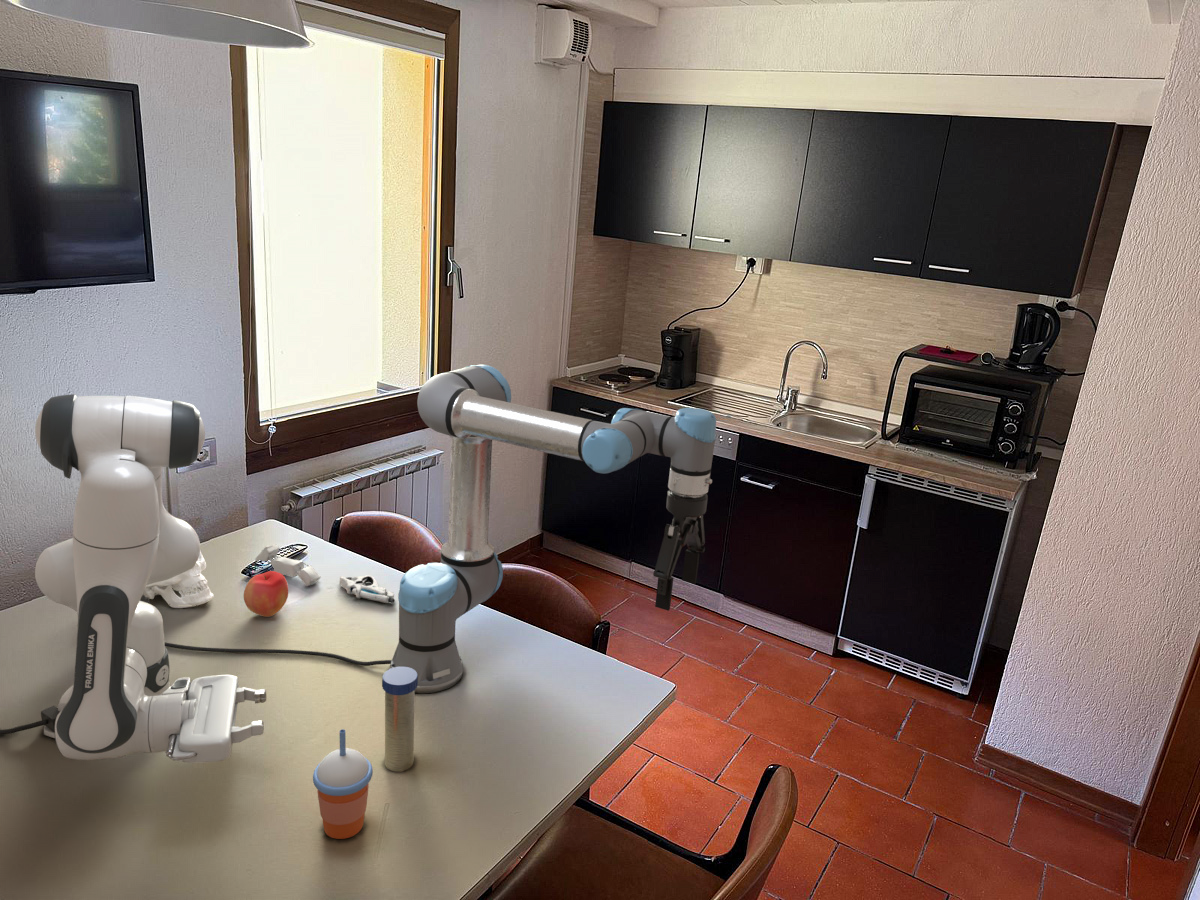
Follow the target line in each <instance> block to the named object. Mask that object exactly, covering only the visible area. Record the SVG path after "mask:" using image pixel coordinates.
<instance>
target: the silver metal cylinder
mask: <svg viewBox="0 0 1200 900" xmlns="http://www.w3.org/2000/svg"><path fill="white" fill-rule="evenodd" d="M384 695H385V696H384V765H385V768H386V769H387V770H389V771H391V772H396V773H398V772H399V773H400V772H404V771H407V770H409V769H410V768H412V767H413V765H414V761H415V760H414V758H415V755H414V754H415V700H416V699H415V697H416V696H415V695H416V692H415V690H414V691H413V692H411V693H409V694H405V695H392V694H389V693H387V692H385V691H384Z"/></svg>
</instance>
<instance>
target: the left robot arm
mask: <svg viewBox="0 0 1200 900" xmlns="http://www.w3.org/2000/svg"><path fill="white" fill-rule="evenodd" d="M34 430H35V431H34V432H35V433H34V434H35V439H36V443H37V445H38V447H39V449H40V453H41V455H42V457H43V458H44V459H45V460H46V461H47V462H48V463H49V464H50V465H51V466H52V467H54V468H56V469H58V470H60V471H62V472H63V476H64V478H66V479H69V480H70V479H71V476H72V471H73V469H75V470H76V471H78V472H79V473H80V482H79V487H78V492H77V496H76V501H75V505H74V506H75V507H74V514H73V523H72V524H73V526H72V538H69V539H66V540H64V541H60V542H58V543H56V544H53V545H51V546H49V547H46V548H45V549H43V551H42V552H41V553H40V555H39V557H38V558H37V560H36V564H35V569H34V577H35V581H36V584H37V587H38V589H39V590H40V591H41V593H42V594H43V595H44V596H45V597H46V598H48V599H49V600H51V601H52V602H54V603H56V604H60V605H63V606H65V607H68V608H70V609H72V610H74V611H75V612H77V633H76V650H75V663H74V679H73V684H72V685H71V686H69V687H68V689H67V690H65V692H64V693H63V694H62V695H61V697H60V699H59V701H58V705H57V706H56V705H51V706H49V707H47V708H44V709H42V710H40V718H41V720H38V721H34V722H30V723H27V724H23V725H19V726H15V727H12V728H5V729H0V736H3V735H10V734H11V735H12V734H15V733H19V732H23V731H27V730H30V729H34V728H38V727H41V726H44V727H43V735H44V736H46V737H50V738H53V739H54V741H55V745H56V747H57V749H58V751H59V752H60V753H61V755H62V756H63V757H65V758H68V759H71V760H79V761H95V760H106V759H115V758H121V757H122V758H123V757H125V756H128V755H131V754H135V753H145V754H146V753H147V754H154V753H163V752H165V756H166V757H167V758H169V759H170V760H172V761H173V762H178V761H179V762H180V761H182V762H184V763H188V764H189V763H192V764H194V763H195V764H197V763H198V764H199V763H215V762H216V763H217V762H222V761H225V760H226V759H229V758H230V757H231V754H232V749H233V748H232V747H233V744H236V743H237V744H238V743H241V742H243V741H245V740H247V739H250V738H252V737H255V736H261V735H263V734H264V731H265V730H264V729H265V728H264V721H263V720H253V721H251V724H250V723H249V724H247V725H245V726H242V727H240V726H238V725H237V726H235V725H236V718H237V712H238V711H237V710H238V704H239V703H245V702H246V701H250V702H254V704H256V705H257V704H263V703H265V702H266V701H267V689H265V688H260V689H255V688H250V687H246V686H242V687H240V681H239V677H238V676H236V675H233V674H215V675H205V676H199V677H196V678H194V679H192V680H191V677H189V676H183V677H182V676H181V677H179V678H178V677H177V679H175V681H173V683H172V684H171V683H170V660H169V651H168V647H166V646H165V643H164V642H165V632H164V631H165V630H164V620H163V616H162V614H161V612H160V610H159V609H158V608H157V607H156V606H154V605H152V604H151V603H149V604H148V603H146V602H142V601H140V599H141V597H142V595H143V592H144V590H145V587H146V585H149V584H153V583H157V582H160V581H164V580H168V579H170V578H173V577H175V576H177V575H179V574H181V573H183V572H186V571H188V570H190V569H192V568H193V567H194V566H195V564H196V562H197V560H198V557H199V554H200V551H201V542H200V538H199V535H198V534H197V532H196V530H195V529H194V527H192V526H191V524H189V523H188V522H187V521H185V520H183V519H181V518H178V517H175V516H174V515H172V514H171V513H170V512H169V511H168V510H167V509H166V507H165V505H164V502H163V468H168V469H169V470H172V469H181V468H185V467H189V466H191V465H192V464H193V463H195V462H196V461H197V460H198V457H199V455H200V454H201V452H202V450H203V447H204V445H205V440H206V428H205V425H204V421H203V418H202V417H201V414H200V411H199V409H198V408H197V407H195V405H194V404H191V403H188V402H186V401H181V400H176V399H173V400H172V401H169V400H165V399H158V398H154V397H153V398H151V397H146V396H145V397H144V396H138V395H137V396H136V395H128V394H127V395H125V396H124V395H79V396H77V395H76V394H75V393H73V394H61V395H56V396H52V397H49V399H48V400H47V401H46V402H44V403H43V406H42V409H40V412H39V414H38V416H37V418H36V422H35V427H34Z"/></svg>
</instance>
